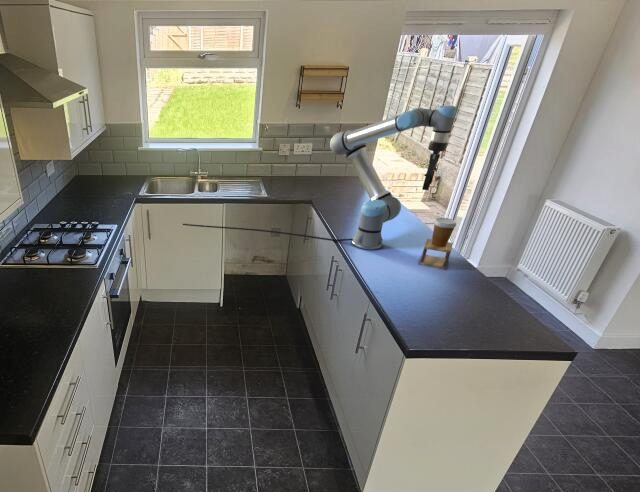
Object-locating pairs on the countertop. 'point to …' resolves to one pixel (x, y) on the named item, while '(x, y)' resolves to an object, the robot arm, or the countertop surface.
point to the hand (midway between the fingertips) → (426, 186)
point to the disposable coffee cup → (442, 231)
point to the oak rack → (434, 260)
